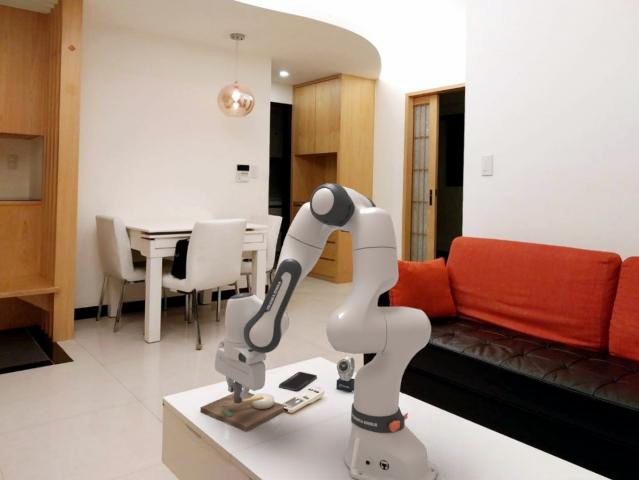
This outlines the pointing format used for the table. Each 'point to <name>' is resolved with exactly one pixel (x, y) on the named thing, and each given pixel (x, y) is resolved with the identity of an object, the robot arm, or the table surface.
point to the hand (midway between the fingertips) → (237, 394)
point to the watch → (346, 374)
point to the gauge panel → (240, 412)
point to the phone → (298, 381)
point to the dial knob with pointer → (252, 398)
